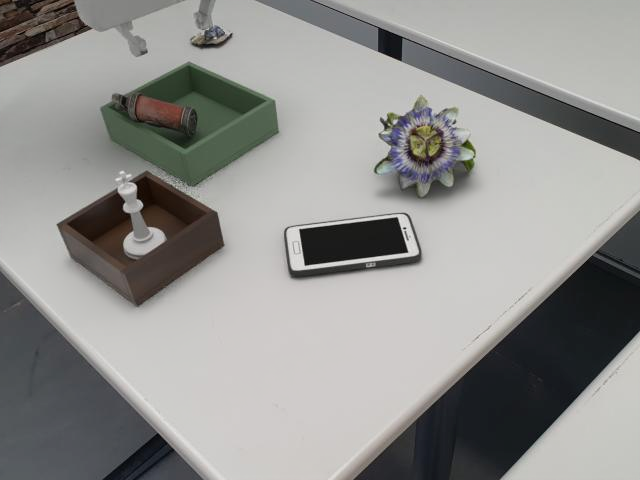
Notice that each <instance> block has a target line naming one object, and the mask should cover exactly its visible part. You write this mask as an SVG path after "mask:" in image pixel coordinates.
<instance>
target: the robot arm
mask: <svg viewBox="0 0 640 480" xmlns="http://www.w3.org/2000/svg"><path fill="white" fill-rule="evenodd" d="M185 1H186V0H73V2H74V6H75V9H76V12H77V15H78V17H79V19H80V20H81V22H82V23H84V24H85V25H86V26H87V27H89V28H91V29H92V30H94V31H96V32H99V33H103V32H106V31H109V30H111V29H115V30H116V31H117V33H119V34H120V35H121V36H122V37H123V38H124V39H125V40H126V41H127V44H128V49H129V51H130V53H131V55H133V56H134V57H135V58H140V57H141V56H144V55H146V54H148V53H149V49H148V48H147V42H146V40H145V39H144V38H143V37H141V36H140V35H134V34H132V32H131V31H133V30H134V26H133V22H132V21H135V20H138V19H140V18H142V17H143V18H144V17H145V16H148V15H150V14H153V13H156V12H158V11H161V10H163V9H166V8H169V7H172V6H174V5H177V4H181V3H183V2H185ZM215 4H216V0H200V2H199V7H198V11H196V12H194V13H193V18H194V20H195V21H194V23H195V26H196V28H197V29H198V30H200V31H202V32H203V30H206V29H208V28H210V27H212V26H213V27H214V25H213V19H212V13H213V10H214V7H215Z"/></svg>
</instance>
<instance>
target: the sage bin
mask: <svg viewBox="0 0 640 480" xmlns="http://www.w3.org/2000/svg"><path fill="white" fill-rule="evenodd" d="M132 92H137V93H141V94H143V95H144V96H146V97H149V98H153V99H157V100H160V101H164V102H167V103H171V104H175V105H178V106H182V107H185V106H188V107H191V108H194V109H195V110H196V112H197V116H198V121H197V127H196V131H195V134H194V136H193V137H190V136H187V135H184V134H183V133H182V132H178V131H174V130H171V129H167V128H163V127H161V128H158V127H154V126H151V125H149V124H147V123H145V122H144V123H139V122H136V121H134V120H132V118H131V117H130V115H129V113H128V112H124V111H121V110H119V109H116V108H115V107H116V104H115V103H114V102H113V101H112V100H111V101H109V102H108V103H106V104H104V105H102V106H100V107H99V109H100V110H99V111H100V113H101V116H102V119H103V122H104V126H105V128H106V131H107V134H108V137H109V139H110V140H111V141H113V142H115V143H117V144H118V145H120V146H122V147H123V148H125V149H127V150H129V151H130V152H131V153H134V154H135V155H137V156H139V157H141V158H142V159H144V160H146V161H148V162H149V163H151V164H152V165H155V166H157V167H158V168H160V169H161V170H163V171H165V172H167V173H168V174H170V175H171V176H173V177H175V178H177V179H178V180H181V181H182V182H183V183H186V184H187V185H189V186H191V187H195V185H197V184H199V183H200V182H202V181H203V180H205V179H207V178H208V177H210V176H212V175H213V174H214V173H216V172H218V171H219V170H222V168H224V167H225V166H227V165H229V164H230V163H232V162H234V161H235V160H236V159H238V158H240V157H241V156H243V155H245V154H246V153H248V152H249V151H251V150H252V149H254V148H256V147H257V146H259V145H260V144H262V143H263V142H265V141H266V140H268V139H270V138H271V137H273V136H275V135H276V134H277V133H280V131H279V130H280V129H279V122H278V112H277V104H276V100H275V99H274V98H271V97H269V96H267V95H265V94H263V93H260V92H258V91H255V90H253V89H251V88H249V87H247V86H245V85H242V84H240V83H238V82H236V81H234V80H231V79H229V78H227V77H225V76H223V75H220V74H219V73H216V72H213V71H211V70H209V69H207V68H204V67H202V66H200V65H198V64H196V63H193V62H191V61H187V62H185V63H183V64H180V65H179V66H177V67H175V68H173V69H171V70H170V71H167V72H166V73H163V74H162V75H160V76H157V77H156V78H154V79H152V80H150V81H148V82H146V83H143V85H141V86H138V87H137V88H135V89H133V90H131V91H129V92H127V93H124V94H123V95H124V96H128V97H130V96H131V94H132Z"/></svg>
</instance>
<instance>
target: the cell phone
mask: <svg viewBox="0 0 640 480" xmlns="http://www.w3.org/2000/svg"><path fill="white" fill-rule="evenodd" d="M283 241H284V246H285V254H286V262H287V269H288V272H289V275H291V276H293V277H303V276H304V277H305V276H313V275H320V274H328V273H337V272H345V271H351V270H358V269H359V270H361V269H366V268H367V269H368V268H374V267H385V266H393V265H399V264H400V265H401V264H407V263H408V264H409V263H415V262H418V261H420V260H421V259H422V254H423V253H422V247H421V245H420V242H419V239H418V235H417V232H416V229H415V227H414V223H413V220H412V218H411V216H410V214H409V213H407V212H392V213H386V214H385V213H384V214H377V215H367V216H361V217H351V218H344V219H336V220H327V221H319V222H311V223H304V224H303V223H301V224H295V225H290V226H289V225H288V226H287V227H285V229H284V230H283Z"/></svg>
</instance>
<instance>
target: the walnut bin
mask: <svg viewBox="0 0 640 480" xmlns="http://www.w3.org/2000/svg"><path fill="white" fill-rule="evenodd" d="M127 182H130V183H134V184H135V185H136V186H137V194H136V196H137V198H136V199H137V200H140V201H141V202H142V203H143V207H142V209H141V210H140V213H141V216H142V218H143V220H144V222H145V224H146V226H147V227H154V228H157V229H159V230H161V231H162V232H163V233H164V234H165V237H166V238H167V240H166V241H165V242H163V243H162V244H160V245H159V246H157V247H156V248H154V249H153V250H151V251H150V252H148V253H147V254H145V255H144V256H142V257H141V258H139V259H138V260H137V259H132V258H130V257H128V256H127V255H126V254H125V252H124V247H123V242H124V239H125V238H126V236H127V235H128V234H130V233H131V232H132V231H133V225H132V219H131V214H130V213H127V212H125V211H124V210H123V205H124V204H125V200H124V199H123V198H122V196H120V194H119V193H118V187H116V188H115V189H113V190H111V191H109V192H108V193H106V194H105V195H103V196H101V197H100V198H98V199H96V200H94V201H93V202H91V203H89V204H88V205H86V206H85V207H82V208H81V209H79V210H78V211H76V212H74V213H73V214H71V215H69V216H68V217H65V218H64V219H62V220H61V221H59V222H57V223H56V227H57V229H58V232H59V234H60V236H61V238H62V240H63V243H64V245H65V247H66V249H67V252H68V254H69V256H70V258H72V259H73V260H74V261H75V262H77V263H78V264H80V265H81V266H82V267H84V268H85V269H86V270H87V271H88V272H90V273H92V274H93V275H94V276H96V277H97V278H98V279H100V280H101V281H102V282H103V283H104V284H107V286H108V287H110V288H111V289H113V290H114V291H116V292H117V293H118V294H120V295H121V296H122V297H124V298H125V299H126V300H127V301H129V302H130V303H131V304H133V305H134V306H135V307H139V306H140V305H142V304H143V303H144V302H146V301H148V299H150V298H152V297H153V296H154V295H156V294H158V293H159V292H160V291H161V290H163V289H164V288H166V287H167V286H169V285H170V284H171V283H173V282H174V281H176V280H177V279H178V278H180V277H182V276H183V275H184V274H186V273H187V272H189V271H190V270H191V269H193V268H194V267H196V266H197V265H198V264H200V263H201V262H202V261H204V260H206V259H207V258H208V257H210V256H211V255H213V254H214V253H215V252H217V251H218V250H220V249H221V248H222V247H224V246H225V241H224V236H223V231H222V228H221V222H220V217H219V213H218V211H216V210H214V209H212V208H211V207H209V206H207V205H206V204H204V203H202V202H201V201H200V200H197V199H196V198H194V197H192V196H191V195H189V194H187V193H185V192H184V191H182V190H180V189H179V188H177V187H175V186H174V185H172V184H171V183H169V182H168V181H165V180H164V179H161V177H159V176H157V175H156V174H153V173H152V172H150V171H149V170H144V171H143V172H142V173H139V174H138V175H137V176H135V177H133V179H132V180H130V181H127Z"/></svg>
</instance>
